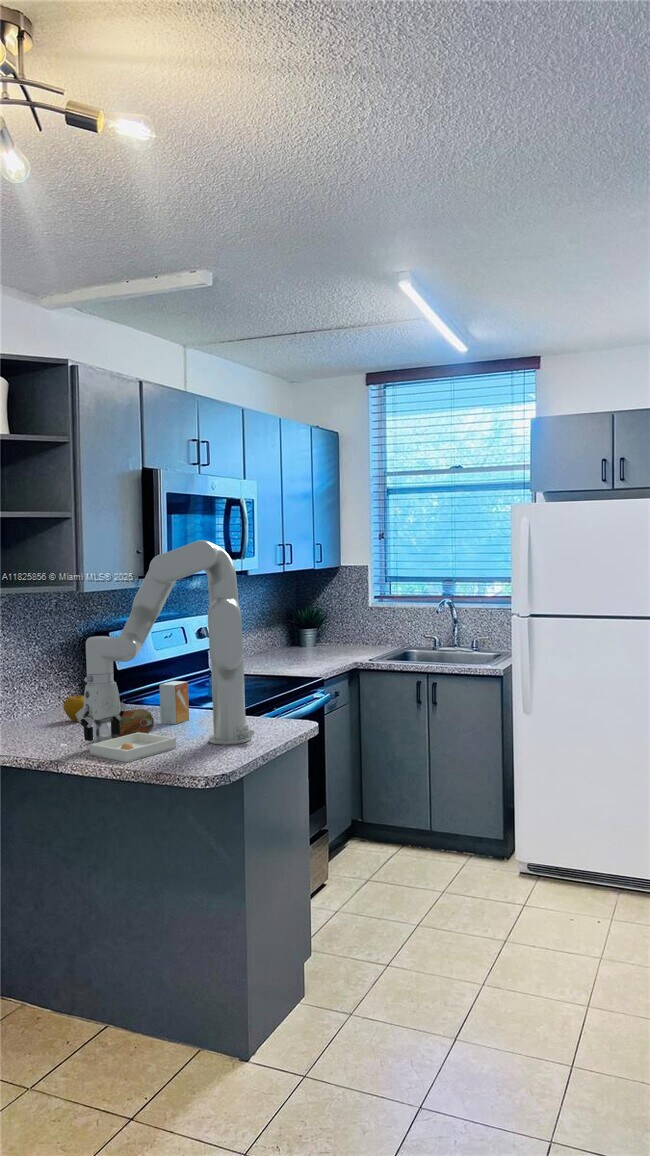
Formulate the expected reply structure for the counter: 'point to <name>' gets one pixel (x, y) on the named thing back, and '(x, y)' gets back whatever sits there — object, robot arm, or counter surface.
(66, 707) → the apple
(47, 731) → the counter surface
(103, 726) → the shaker
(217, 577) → the robot arm
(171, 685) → the small box
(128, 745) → the ball
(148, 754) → the tray
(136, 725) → the tin
